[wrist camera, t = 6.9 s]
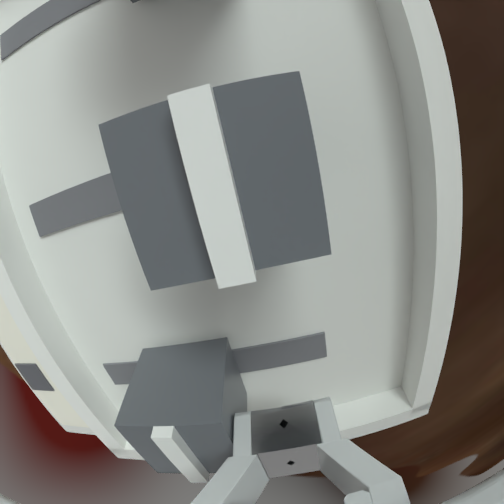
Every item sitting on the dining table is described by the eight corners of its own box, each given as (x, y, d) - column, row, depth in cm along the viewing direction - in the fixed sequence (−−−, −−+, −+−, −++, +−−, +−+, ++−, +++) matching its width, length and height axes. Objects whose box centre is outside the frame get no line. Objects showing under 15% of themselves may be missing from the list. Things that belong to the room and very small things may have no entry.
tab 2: (142, 348, 10) (110, 435, 7) (227, 337, 10) (220, 435, 6) (172, 401, 11) (155, 481, 8) (246, 393, 11) (248, 480, 8)
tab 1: (158, 124, 7) (87, 125, 4) (275, 95, 7) (303, 65, 4) (185, 226, 9) (144, 302, 5) (297, 202, 8) (338, 264, 5)
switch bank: (-50, 44, 6) (-92, 43, 3) (322, -107, 5) (340, -148, 2) (76, 409, 16) (58, 449, 12) (402, 366, 14) (427, 413, 11)
